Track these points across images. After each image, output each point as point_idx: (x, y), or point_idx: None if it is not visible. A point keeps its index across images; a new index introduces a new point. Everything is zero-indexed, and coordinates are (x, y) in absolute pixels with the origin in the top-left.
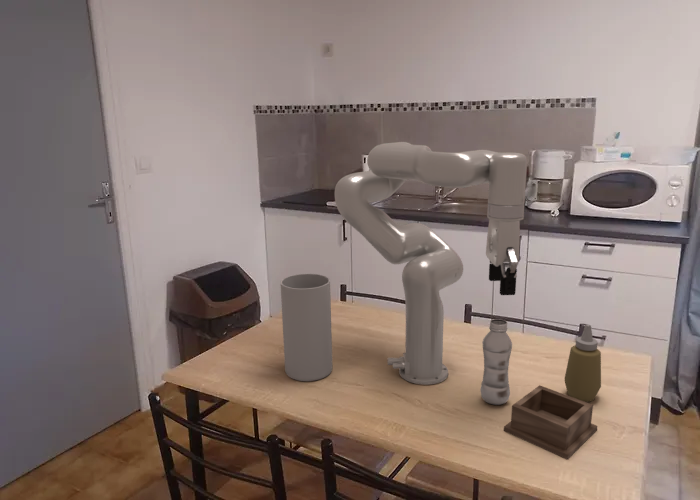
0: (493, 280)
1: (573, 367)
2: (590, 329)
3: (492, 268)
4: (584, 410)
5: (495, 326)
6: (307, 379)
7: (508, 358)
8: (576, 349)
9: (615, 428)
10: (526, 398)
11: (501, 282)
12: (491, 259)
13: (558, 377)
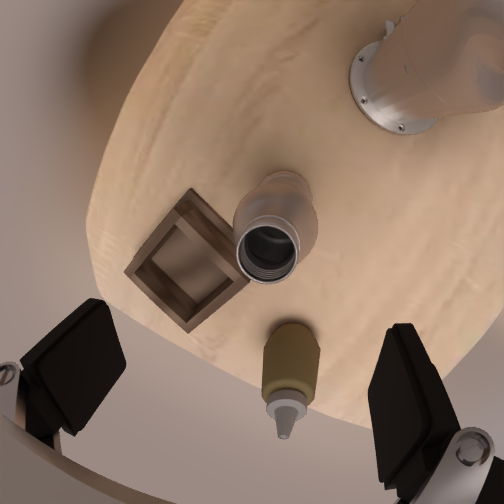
0: (383, 346)
1: (278, 357)
2: (277, 432)
3: (410, 411)
4: (170, 315)
5: (242, 233)
6: None
7: (254, 242)
8: (285, 385)
9: (208, 339)
10: (198, 242)
11: (43, 341)
12: (24, 486)
13: (355, 329)
